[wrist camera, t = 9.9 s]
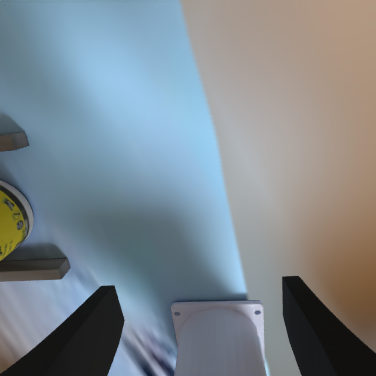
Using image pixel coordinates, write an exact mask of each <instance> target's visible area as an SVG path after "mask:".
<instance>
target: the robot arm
mask: <svg viewBox="0 0 376 376" xmlns="http://www.w3.org/2000/svg"><path fill="white" fill-rule="evenodd" d="M282 290H283V317H284V322H285V326H286V330H287V334H288V338H289V341H290V344H291V347H292V350H293V353H294V356H295V359H296V361H297V364H298V367H299V370H300V372H301V375H302V376H376V353H375V352H374V351H372V350H371V349H370V348H369V347H368V346H367V345H365V344H364V343H363V342H362V341H361V340H360V339H359V338H358V337H356V335H354V334H353V333H352V332H351V331H350V330H349V329H348V328H347V327H346V326H345V325H344V324H343V323H342V322H341V321H340V320H339V319H338V318H337V317H336V316H335V315H334V314H333V313H332V312H331V311H330V310H329V309H328V308H327V307H326V306H325V305H324V304H323V303H322V302H321V301H320V300H319V299H318V297H316V295H315V294H314V293H313V292H312V291H311V290H310V289H309V287H308V286H307V285H306V284H305V283H304V282H303V280H302V279H301V278H300V277H299V276H287V277H282ZM256 310H259V311H256ZM171 312H172V318H173V323H174V329H175V334H176V340H177V345H178V353H177V360H176V368H175V375H174V376H267V375H266V370H265V361H264V314H263V304H262V302H261V301H258V300H249V301H208V302H175V303H173V304H172V305H171ZM177 312H179V313H177ZM124 321H125V320H124V316H123V313H122V310H121V306H120V303H119V300H118V296H117V293H116V290H115V286H114V285H111V286H101V287H100V288H99V289H97V290H96V291H95V292H94V293H93V294H92V295H91V296H90V297H89V298H88V299H87V300H86V301H85V302H84V303H83V304H82V305H81V306H80V307H79V308H78V309H77V310H76V311H75V312H73V313H72V314H71V315H70V316H69V317H68V318H67V319H66V320H65V321H64V322H63V323H62V324H61V325H60V326H59V327H57V328H56V329H55V330H54V331H53V332H52V333H51V334H50V335H48V336H47V337H46V338H45V339H44V340H43V341H42V342H41V343H39V344H38V345H37V346H36V347H35V348H33V349H32V350H31V351H30V352H29V353H27V354H26V355H25V356H24V357H22V358H21V359H20V360H18V361H17V362H16V363H15V364H13V365H12V366H11V367H9V368H8V369H7V370H5V371H4V372H2V373H1V374H0V376H107V375H108V372H109V370H110V367H111V364H112V362H113V359H114V356H115V353H116V351H117V348H118V345H119V341H120V338H121V334H122V329H123V325H124Z"/></svg>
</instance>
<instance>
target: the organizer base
mask: <svg viewBox="0 0 376 376" xmlns="http://www.w3.org/2000/svg"><path fill="white" fill-rule="evenodd" d="M26 146H29V143H28V140H27V137H26V134H25V132H18V133H9V134H0V152H1V151H11V150H17V149H20V148H23V147H26ZM69 269H70V265H69V262H68V259H67V258H62V259H41V260H21V261H0V282H3V281H29V280H56V279H62V278H63V277H64V275H65V274H66V273H67V272H68V270H69Z"/></svg>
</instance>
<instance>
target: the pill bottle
mask: <svg viewBox="0 0 376 376" xmlns="http://www.w3.org/2000/svg"><path fill="white" fill-rule="evenodd" d="M33 223H34V216H33V212H32V209H31V207H30V205H29V203H28V202H27V200H26V199H25V197H24V196H23V195H22V194H21V193H20V192H19V191H18V190H16V189H15V188H14V187H13V186H11V185H9V184H8V183H5V182H3V181H1V180H0V261H1V260H2V259H3V258H5V257H6V256H7V255H8V254H9V253H11V252H12V251H13V250H15V249H16V248H17V247H18V246H19V245H20V244H21V243H23V242H24V241H25V240H26V239H27V238H28V236H29V235H30V233H31V231H32V228H33Z"/></svg>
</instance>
